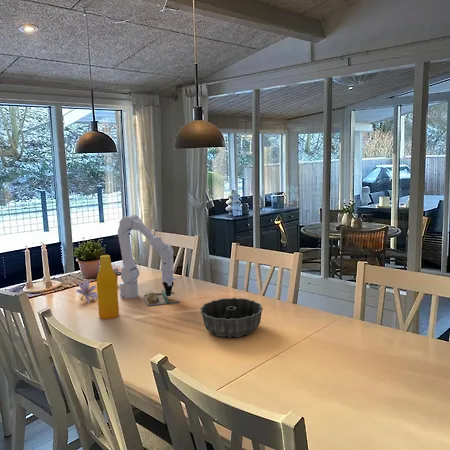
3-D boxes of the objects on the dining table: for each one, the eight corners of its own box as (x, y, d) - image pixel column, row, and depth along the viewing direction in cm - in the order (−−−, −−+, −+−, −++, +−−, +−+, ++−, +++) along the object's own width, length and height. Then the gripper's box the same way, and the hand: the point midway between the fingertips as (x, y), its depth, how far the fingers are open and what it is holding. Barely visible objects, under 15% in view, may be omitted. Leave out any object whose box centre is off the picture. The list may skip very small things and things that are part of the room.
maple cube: (147, 302, 223) (147, 293, 222) (146, 299, 227) (146, 291, 226) (156, 301, 224) (156, 292, 223) (155, 298, 228) (155, 290, 227)
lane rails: (147, 308, 216) (147, 305, 216) (144, 297, 233) (144, 294, 233) (179, 304, 220) (179, 301, 220) (174, 294, 237) (173, 291, 237)
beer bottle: (113, 319, 201) (110, 258, 197) (95, 318, 203) (91, 257, 199) (122, 313, 210) (118, 253, 206) (104, 312, 212) (100, 253, 208)
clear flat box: (145, 307, 217) (145, 299, 217) (143, 298, 232) (142, 291, 231) (168, 304, 220) (167, 297, 220) (163, 296, 235) (163, 289, 234)
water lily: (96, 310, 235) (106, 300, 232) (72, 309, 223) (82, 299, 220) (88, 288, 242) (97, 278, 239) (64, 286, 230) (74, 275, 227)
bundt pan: (208, 346, 170) (208, 322, 169) (195, 322, 195) (194, 301, 194) (272, 338, 177) (272, 314, 176) (251, 316, 202) (250, 295, 201)
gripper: (177, 272, 220) (178, 299, 222) (172, 266, 233) (173, 290, 235) (163, 274, 218) (164, 300, 220) (159, 267, 231) (160, 292, 234)
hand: (168, 295), depth 227 cm, fingers closed, pressing on clear flat box
